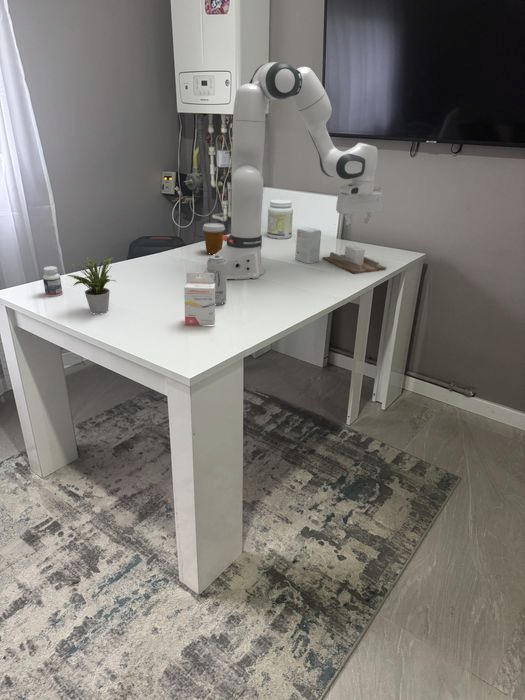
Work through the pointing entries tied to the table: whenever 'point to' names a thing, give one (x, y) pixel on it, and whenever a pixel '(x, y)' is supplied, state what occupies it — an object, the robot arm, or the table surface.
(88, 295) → the house plant
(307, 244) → the small box
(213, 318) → the ink cartridge box
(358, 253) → the module block
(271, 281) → the table surface
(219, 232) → the disposable coffee cup
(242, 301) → the table surface
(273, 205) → the supplement tub
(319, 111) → the robot arm
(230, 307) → the table surface
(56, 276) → the pill bottle
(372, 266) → the brown flat wooden board
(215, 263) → the energy drink can
